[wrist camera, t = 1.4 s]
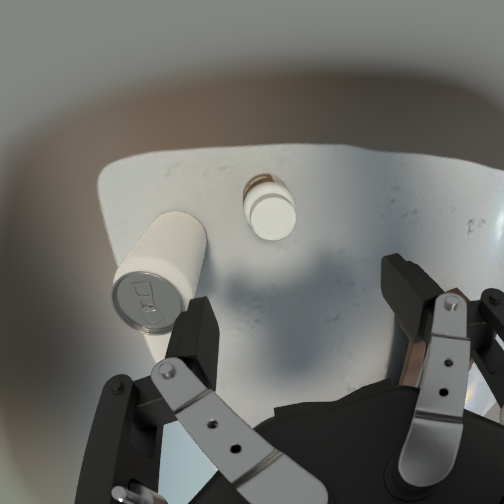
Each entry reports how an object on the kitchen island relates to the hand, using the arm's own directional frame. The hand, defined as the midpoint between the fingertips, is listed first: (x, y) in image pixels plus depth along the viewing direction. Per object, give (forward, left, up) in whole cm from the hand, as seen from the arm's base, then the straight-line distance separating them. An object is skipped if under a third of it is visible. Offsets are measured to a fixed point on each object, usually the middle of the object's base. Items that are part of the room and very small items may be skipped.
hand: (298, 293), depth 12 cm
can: (+2, -10, -17) cm, 20 cm away
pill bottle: (0, 0, -18) cm, 18 cm away
